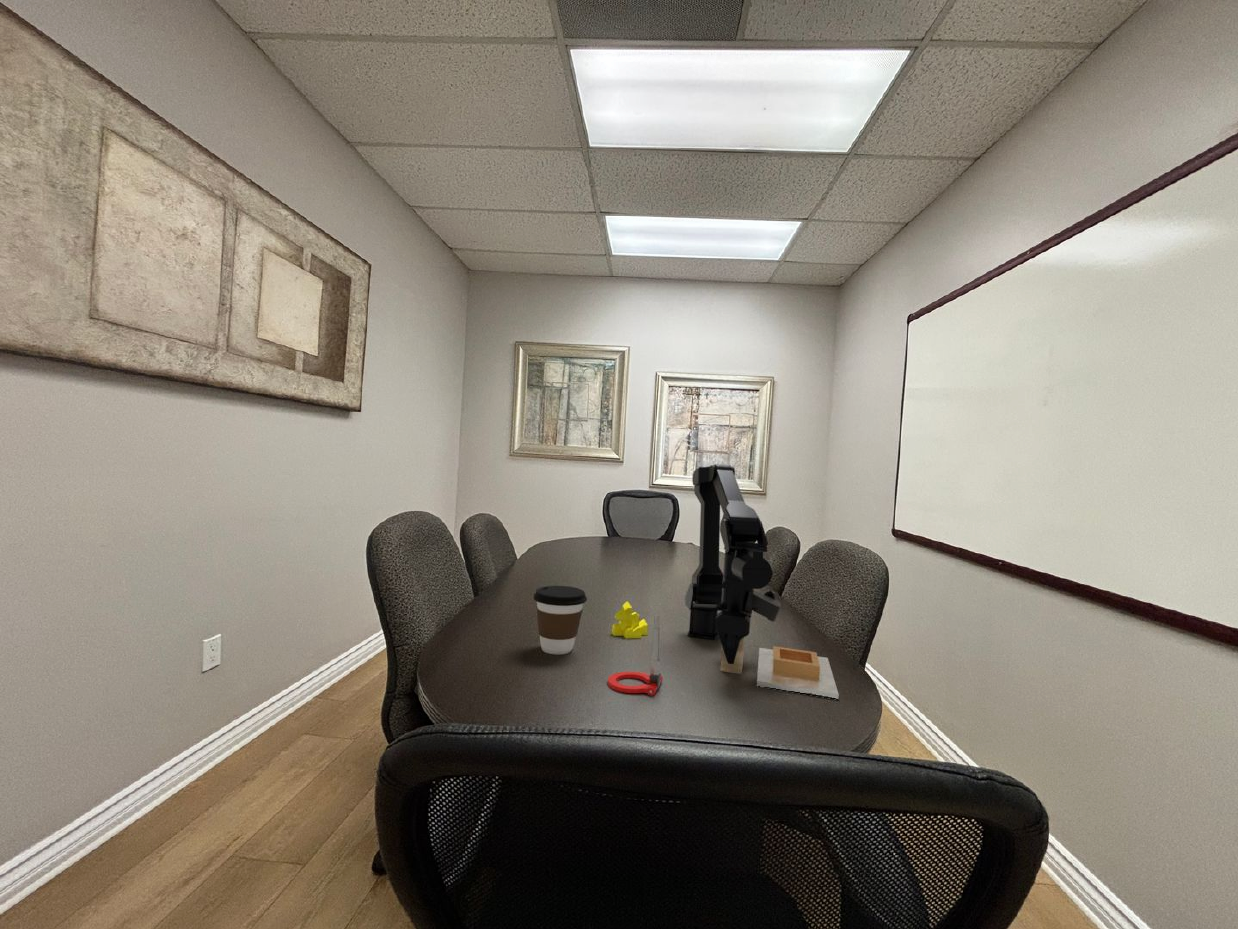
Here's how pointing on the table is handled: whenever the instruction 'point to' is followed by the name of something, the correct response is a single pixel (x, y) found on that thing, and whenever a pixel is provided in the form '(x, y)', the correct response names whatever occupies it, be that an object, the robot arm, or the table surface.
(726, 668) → the cream upright block
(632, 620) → the yellow blocky cluster
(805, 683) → the wooden socket on plate
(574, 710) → the table surface
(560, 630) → the coffee cup
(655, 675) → the tow hook
